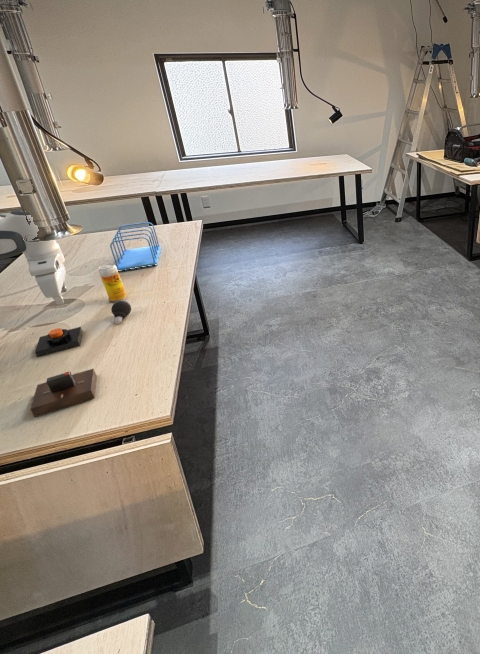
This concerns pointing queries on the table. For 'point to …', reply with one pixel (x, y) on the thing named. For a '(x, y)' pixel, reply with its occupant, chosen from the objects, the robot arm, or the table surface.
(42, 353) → the button block
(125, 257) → the file sorter
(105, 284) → the yellow canister
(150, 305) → the table surface
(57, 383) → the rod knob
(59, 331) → the button
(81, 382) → the rod panel
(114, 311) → the light bulb
